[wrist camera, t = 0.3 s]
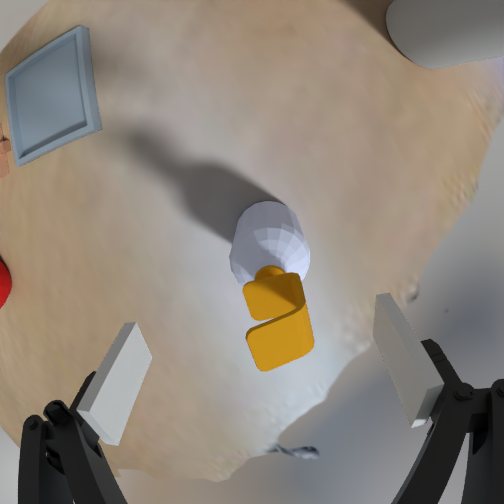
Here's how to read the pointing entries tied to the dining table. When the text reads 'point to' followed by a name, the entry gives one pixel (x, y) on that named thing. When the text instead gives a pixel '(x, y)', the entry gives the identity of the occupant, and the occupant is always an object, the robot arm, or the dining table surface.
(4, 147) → the ring frame
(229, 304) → the dining table surface
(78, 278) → the dining table surface
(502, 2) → the cylinder vase
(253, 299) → the soap bottle
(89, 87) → the tray
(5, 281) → the tomato
